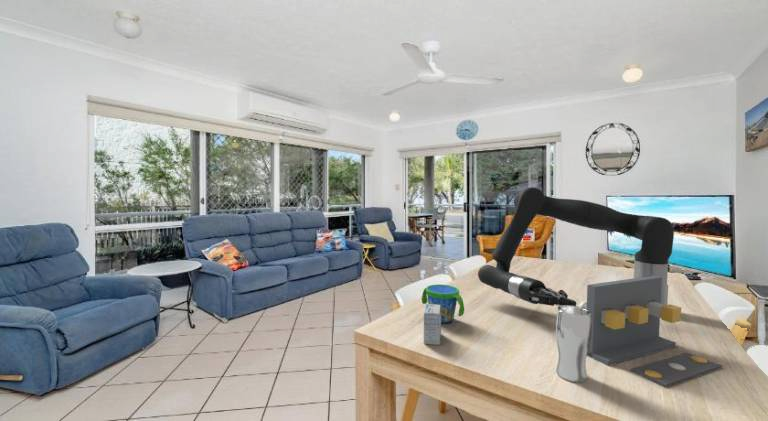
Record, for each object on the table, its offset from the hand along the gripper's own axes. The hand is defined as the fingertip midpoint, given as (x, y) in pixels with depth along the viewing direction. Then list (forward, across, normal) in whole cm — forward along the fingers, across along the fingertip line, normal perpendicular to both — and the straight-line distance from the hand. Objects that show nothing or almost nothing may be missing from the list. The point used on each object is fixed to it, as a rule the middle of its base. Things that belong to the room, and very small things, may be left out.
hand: (574, 305), depth 93 cm
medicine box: (-15, -36, +10) cm, 40 cm away
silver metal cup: (+13, -16, +10) cm, 23 cm away
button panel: (+8, +9, +10) cm, 16 cm away
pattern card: (+20, +9, +10) cm, 24 cm away
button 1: (+8, 0, +2) cm, 8 cm away
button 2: (+10, +18, +2) cm, 21 cm away
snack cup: (-26, -26, +10) cm, 38 cm away
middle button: (+7, +9, +2) cm, 12 cm away
